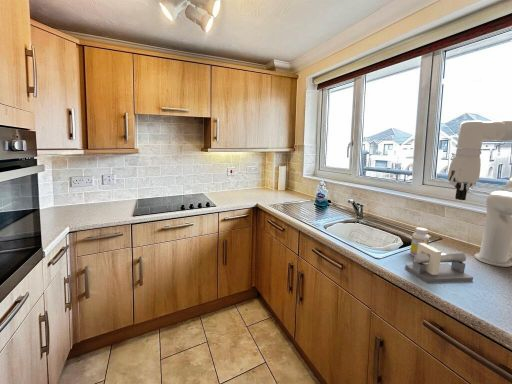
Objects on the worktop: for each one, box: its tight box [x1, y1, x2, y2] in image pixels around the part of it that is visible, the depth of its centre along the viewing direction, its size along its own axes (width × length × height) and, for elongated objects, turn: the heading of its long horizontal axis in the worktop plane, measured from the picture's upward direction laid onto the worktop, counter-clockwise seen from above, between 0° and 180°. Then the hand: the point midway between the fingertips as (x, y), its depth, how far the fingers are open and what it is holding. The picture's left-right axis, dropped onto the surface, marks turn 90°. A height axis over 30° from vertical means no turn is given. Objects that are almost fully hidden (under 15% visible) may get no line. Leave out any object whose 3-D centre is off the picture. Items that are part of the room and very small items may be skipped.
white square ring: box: [417, 243, 443, 275], centre depth 104 cm, size 2×9×9 cm, turn 7°
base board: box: [404, 262, 474, 284], centre depth 106 cm, size 19×12×2 cm, turn 97°
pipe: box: [412, 252, 467, 274], centre depth 105 cm, size 19×4×7 cm, turn 97°
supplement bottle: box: [410, 226, 430, 257], centre depth 123 cm, size 7×7×13 cm
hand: (460, 199), depth 108 cm, fingers closed
